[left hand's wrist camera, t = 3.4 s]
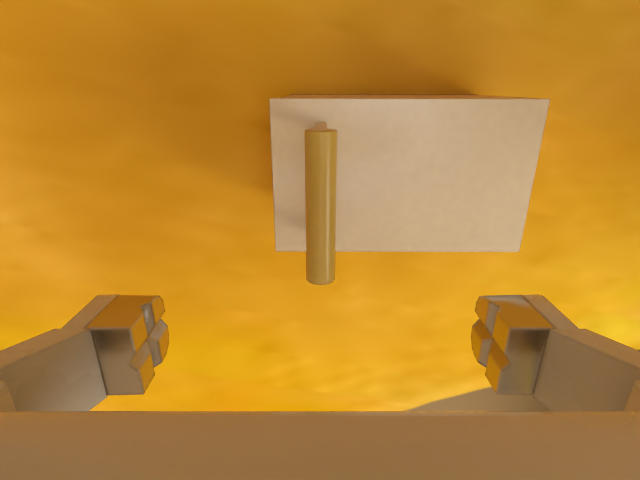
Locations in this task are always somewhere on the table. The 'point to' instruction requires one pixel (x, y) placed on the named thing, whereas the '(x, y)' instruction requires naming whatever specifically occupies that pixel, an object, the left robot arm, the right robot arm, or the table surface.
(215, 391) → the table surface
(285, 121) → the lid
